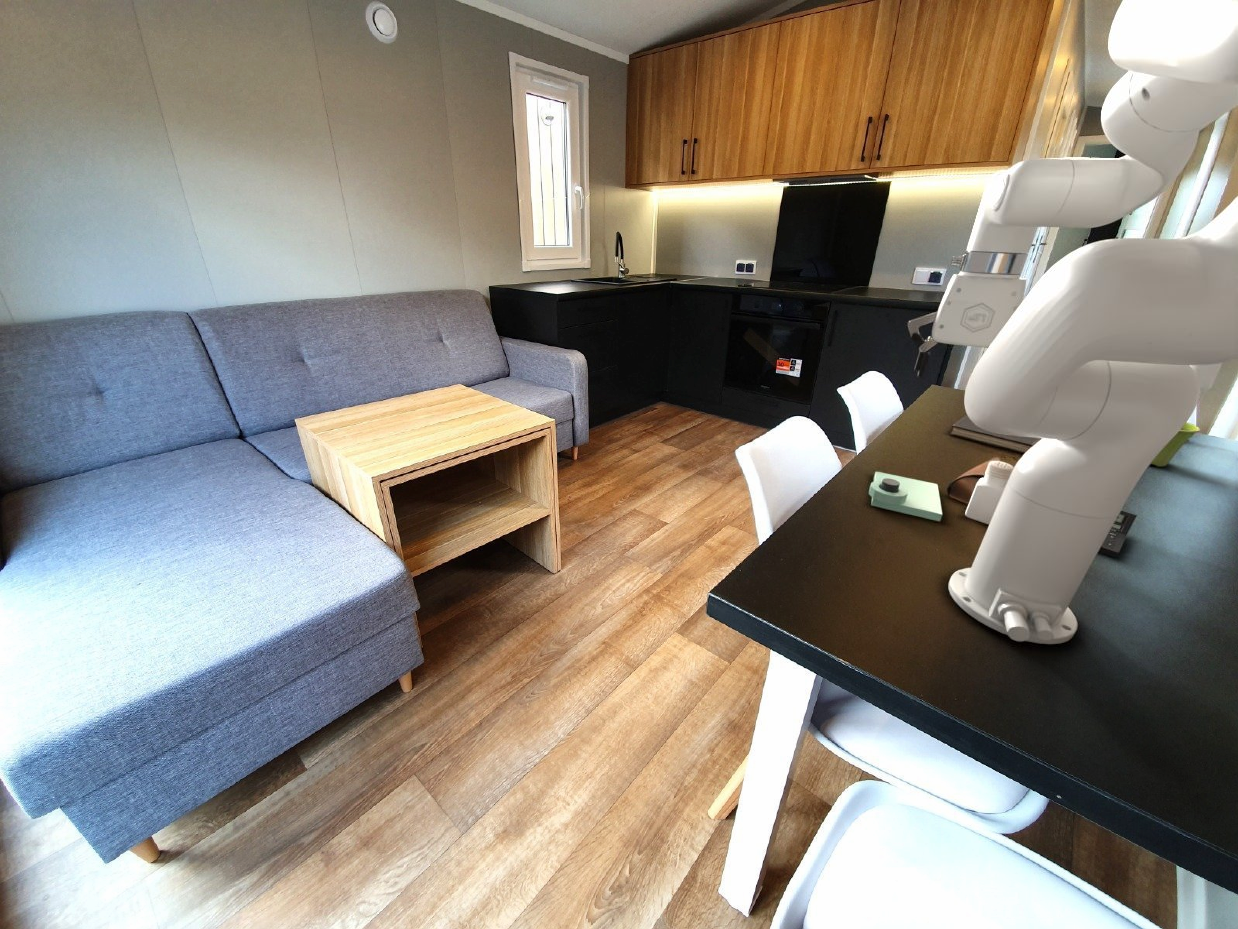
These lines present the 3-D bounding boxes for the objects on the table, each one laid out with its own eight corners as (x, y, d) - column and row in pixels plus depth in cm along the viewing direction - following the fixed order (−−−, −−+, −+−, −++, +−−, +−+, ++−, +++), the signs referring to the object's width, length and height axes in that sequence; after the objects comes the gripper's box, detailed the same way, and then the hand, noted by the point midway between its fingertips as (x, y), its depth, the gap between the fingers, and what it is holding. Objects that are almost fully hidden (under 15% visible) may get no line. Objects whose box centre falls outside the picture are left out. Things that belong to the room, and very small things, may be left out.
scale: (940, 524, 77) (946, 507, 76) (865, 506, 81) (870, 490, 80) (935, 491, 87) (940, 476, 86) (869, 476, 92) (873, 462, 90)
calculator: (1036, 529, 77) (1043, 512, 75) (1053, 506, 83) (1061, 491, 82) (1115, 557, 70) (1125, 540, 69) (1128, 530, 77) (1137, 514, 76)
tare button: (897, 495, 80) (900, 486, 79) (879, 491, 81) (882, 482, 80) (897, 488, 82) (900, 480, 81) (880, 484, 83) (882, 476, 82)
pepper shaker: (962, 517, 79) (983, 464, 75) (969, 508, 82) (989, 457, 78) (992, 527, 77) (1015, 473, 73) (997, 518, 79) (1020, 465, 75)
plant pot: (1187, 467, 101) (1210, 427, 97) (1162, 473, 98) (1185, 433, 94) (1131, 449, 109) (1150, 412, 105) (1106, 455, 105) (1125, 417, 102)
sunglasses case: (1000, 513, 80) (989, 474, 80) (953, 516, 85) (942, 480, 85) (1036, 485, 90) (1026, 450, 90) (991, 489, 95) (982, 457, 95)
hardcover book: (949, 434, 113) (952, 425, 112) (974, 413, 128) (978, 405, 127) (1034, 456, 103) (1038, 446, 102) (1051, 431, 118) (1055, 422, 117)
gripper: (925, 263, 72) (893, 376, 80) (1073, 270, 65) (1023, 395, 72) (924, 262, 78) (894, 367, 86) (1059, 268, 71) (1015, 383, 78)
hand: (953, 380), depth 79 cm, fingers open, 9 cm apart
